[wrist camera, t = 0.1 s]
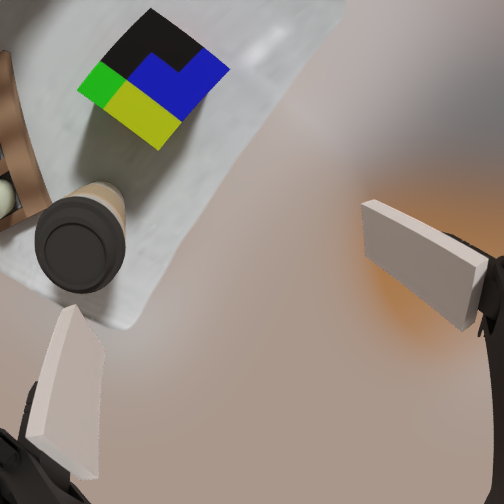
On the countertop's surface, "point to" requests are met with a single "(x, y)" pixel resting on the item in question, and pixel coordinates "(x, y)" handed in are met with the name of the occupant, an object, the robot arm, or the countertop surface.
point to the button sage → (6, 197)
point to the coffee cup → (83, 238)
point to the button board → (18, 150)
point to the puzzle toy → (153, 78)
